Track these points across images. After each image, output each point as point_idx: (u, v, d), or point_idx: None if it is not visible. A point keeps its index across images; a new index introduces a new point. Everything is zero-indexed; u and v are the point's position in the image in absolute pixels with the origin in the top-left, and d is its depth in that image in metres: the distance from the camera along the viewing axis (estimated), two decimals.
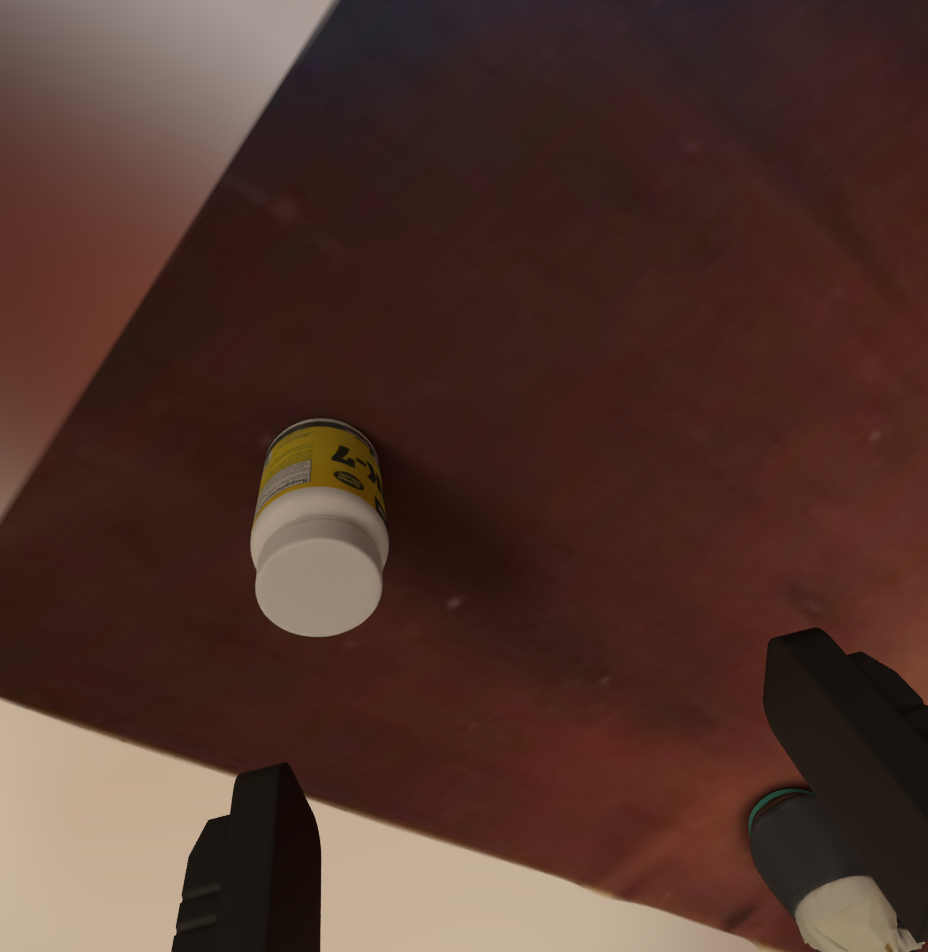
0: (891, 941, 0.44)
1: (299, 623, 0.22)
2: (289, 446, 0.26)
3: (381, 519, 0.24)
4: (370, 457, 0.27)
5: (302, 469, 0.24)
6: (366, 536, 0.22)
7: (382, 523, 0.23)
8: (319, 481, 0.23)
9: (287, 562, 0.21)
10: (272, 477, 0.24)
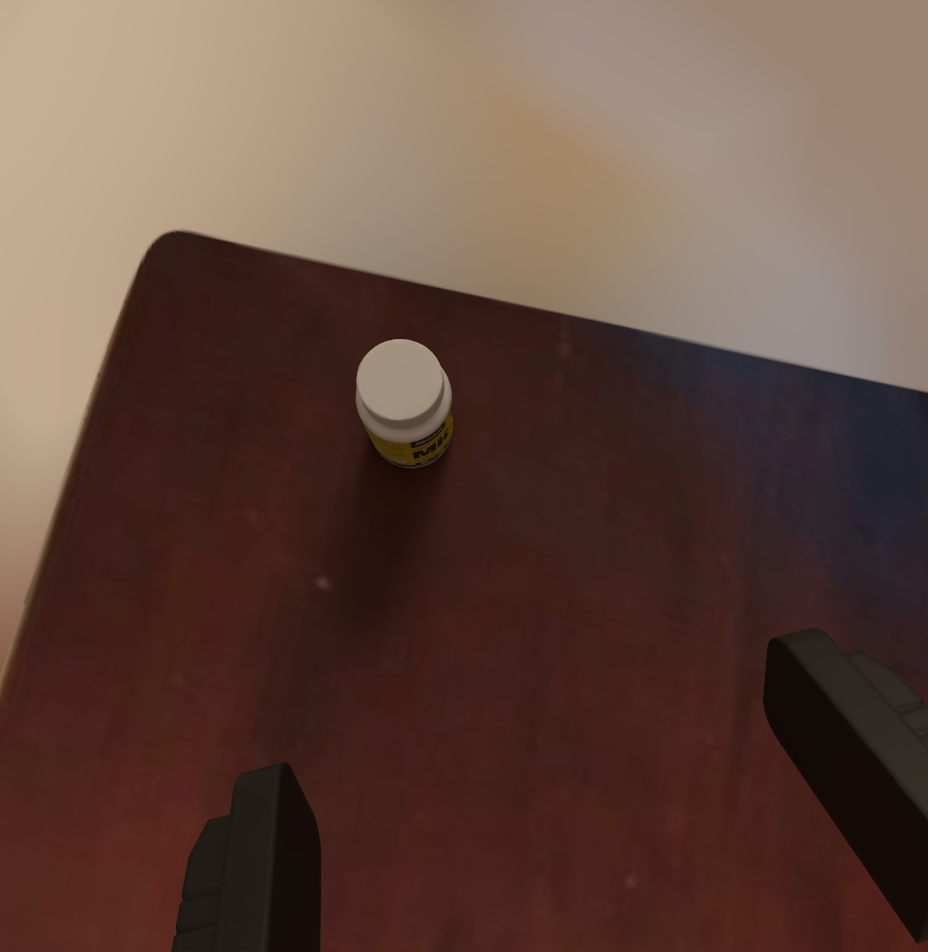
0: None
1: (367, 376, 0.31)
2: None
3: (440, 425, 0.33)
4: (446, 441, 0.37)
5: None
6: (440, 403, 0.32)
7: (438, 426, 0.33)
8: None
9: (415, 351, 0.31)
10: None
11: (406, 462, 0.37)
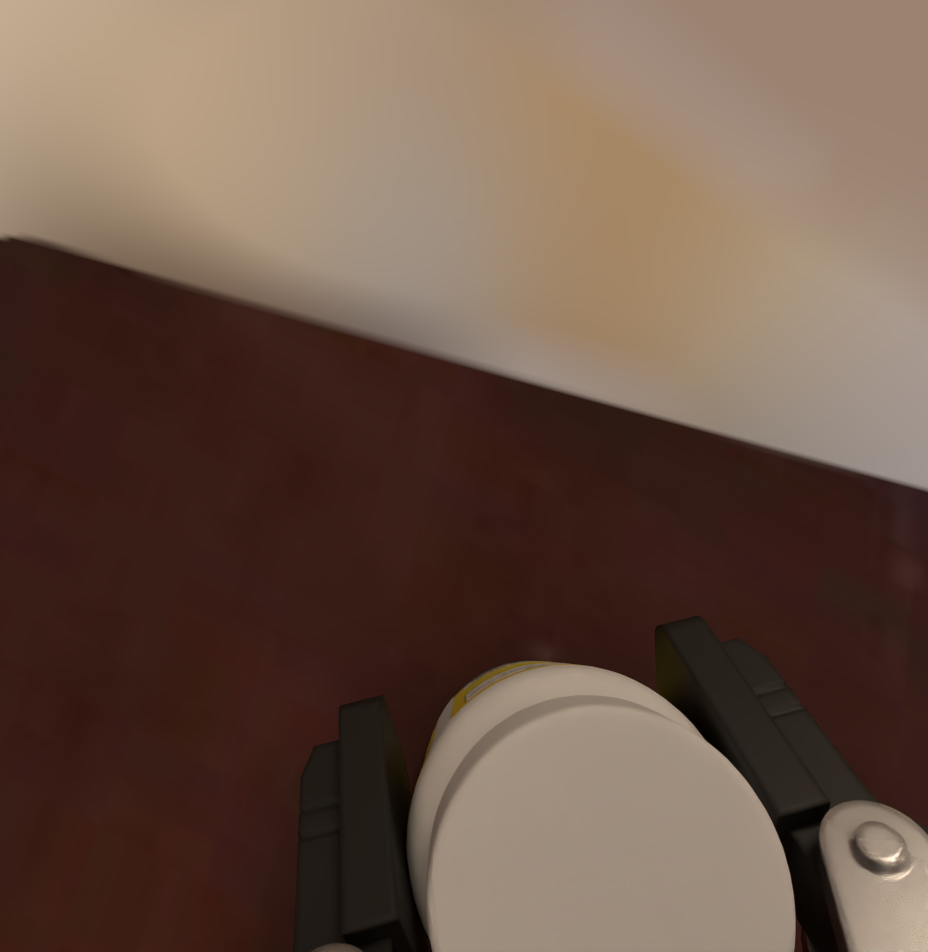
0: None
1: (475, 879, 0.07)
2: None
3: None
4: None
5: None
6: None
7: None
8: None
9: (675, 771, 0.08)
10: None
11: None
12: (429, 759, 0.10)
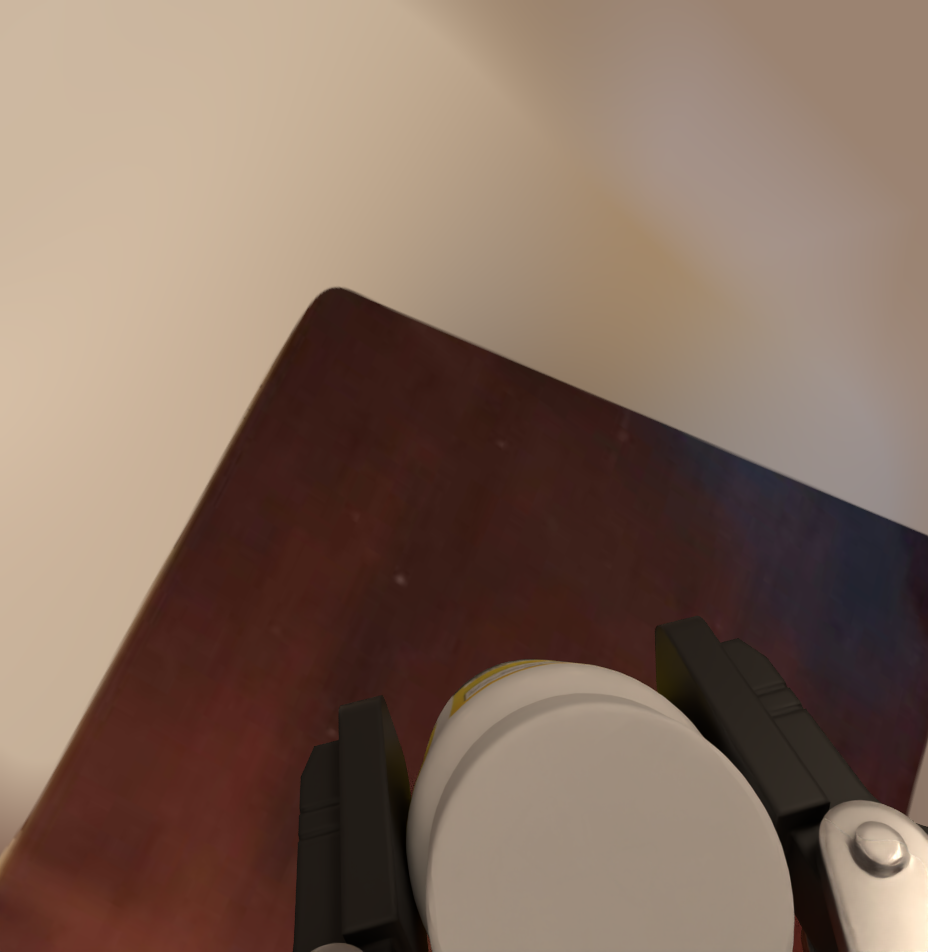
0: None
1: (475, 876, 0.07)
2: None
3: None
4: None
5: None
6: None
7: None
8: None
9: (674, 769, 0.08)
10: None
11: None
12: (429, 757, 0.10)
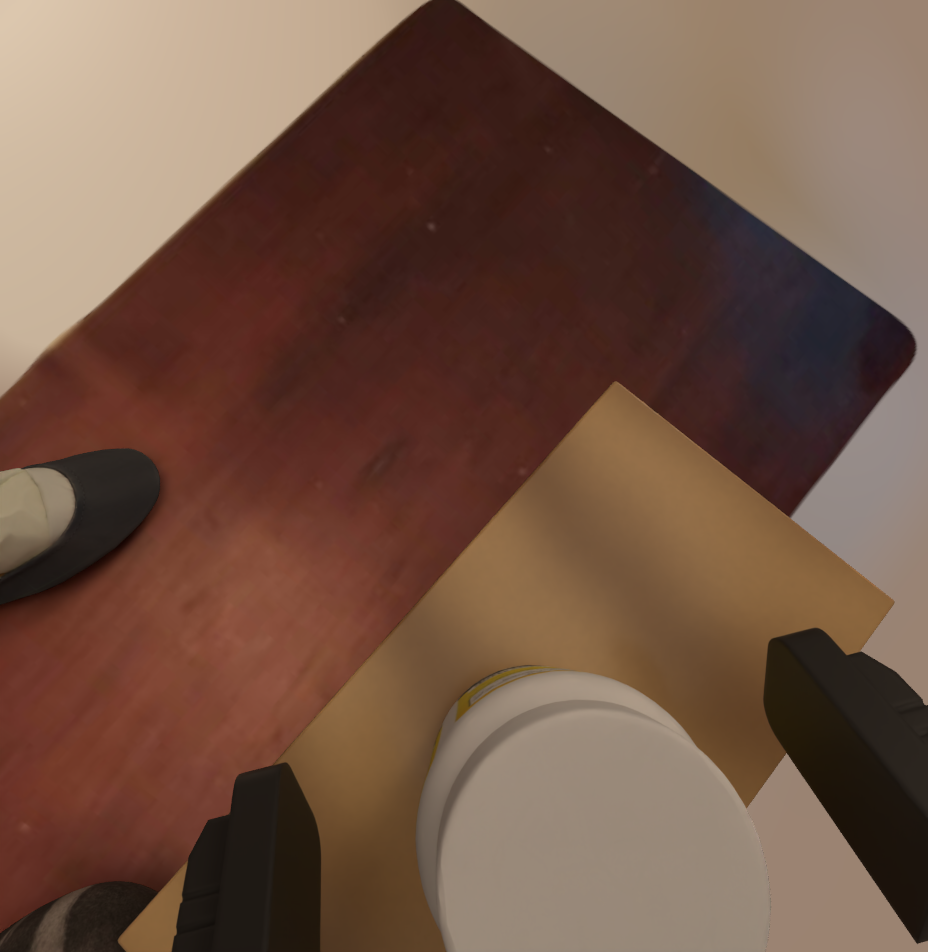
0: None
1: (480, 867, 0.08)
2: None
3: None
4: None
5: None
6: None
7: None
8: None
9: (662, 769, 0.08)
10: None
11: None
12: (436, 759, 0.10)
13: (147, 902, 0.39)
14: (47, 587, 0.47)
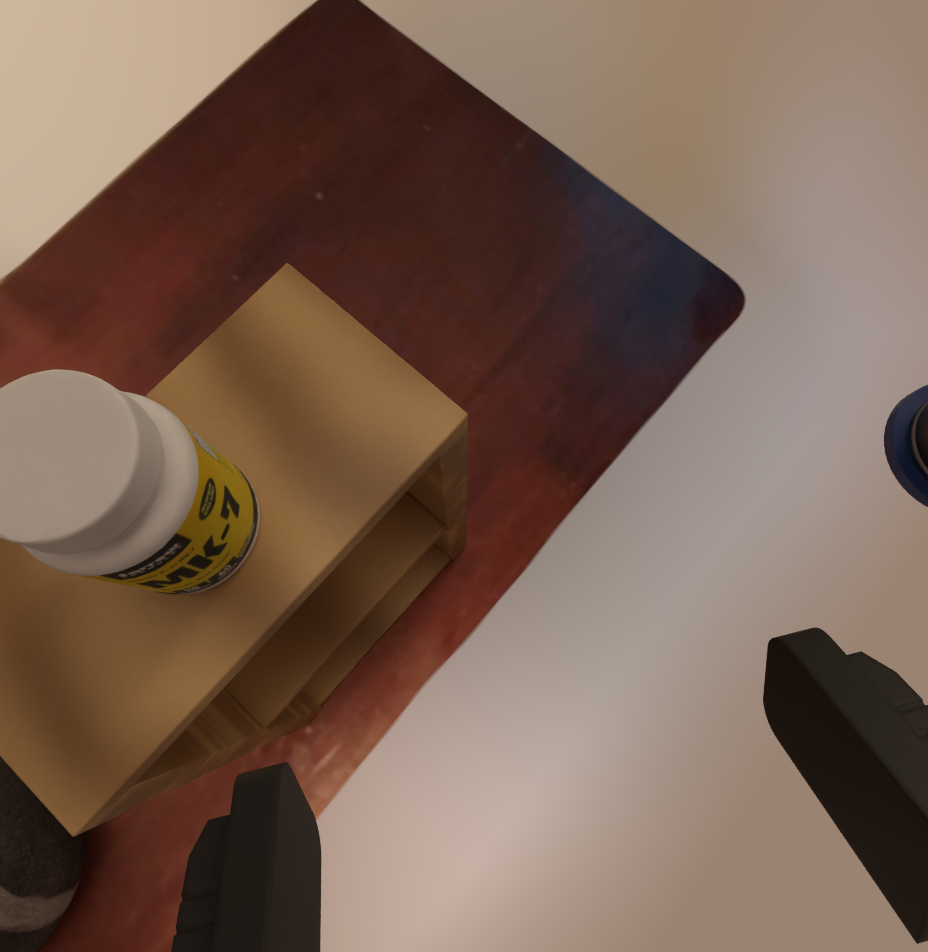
0: None
1: None
2: (221, 454, 0.21)
3: (163, 544, 0.17)
4: (228, 555, 0.21)
5: (206, 446, 0.19)
6: (143, 505, 0.15)
7: (158, 545, 0.17)
8: (201, 455, 0.18)
9: (89, 397, 0.15)
10: None
11: (152, 590, 0.20)
12: None
13: None
14: None
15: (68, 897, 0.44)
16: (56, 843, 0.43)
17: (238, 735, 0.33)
